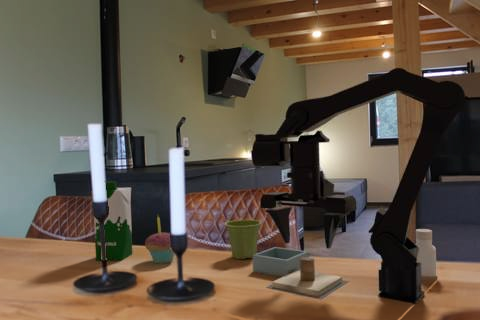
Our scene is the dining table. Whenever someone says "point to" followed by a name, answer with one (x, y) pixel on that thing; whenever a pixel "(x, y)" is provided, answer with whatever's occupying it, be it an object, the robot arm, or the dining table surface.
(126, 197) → the milk carton
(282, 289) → the mat
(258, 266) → the open box
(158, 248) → the cupcake
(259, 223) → the plant pot
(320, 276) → the lid
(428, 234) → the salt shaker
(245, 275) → the dining table surface
